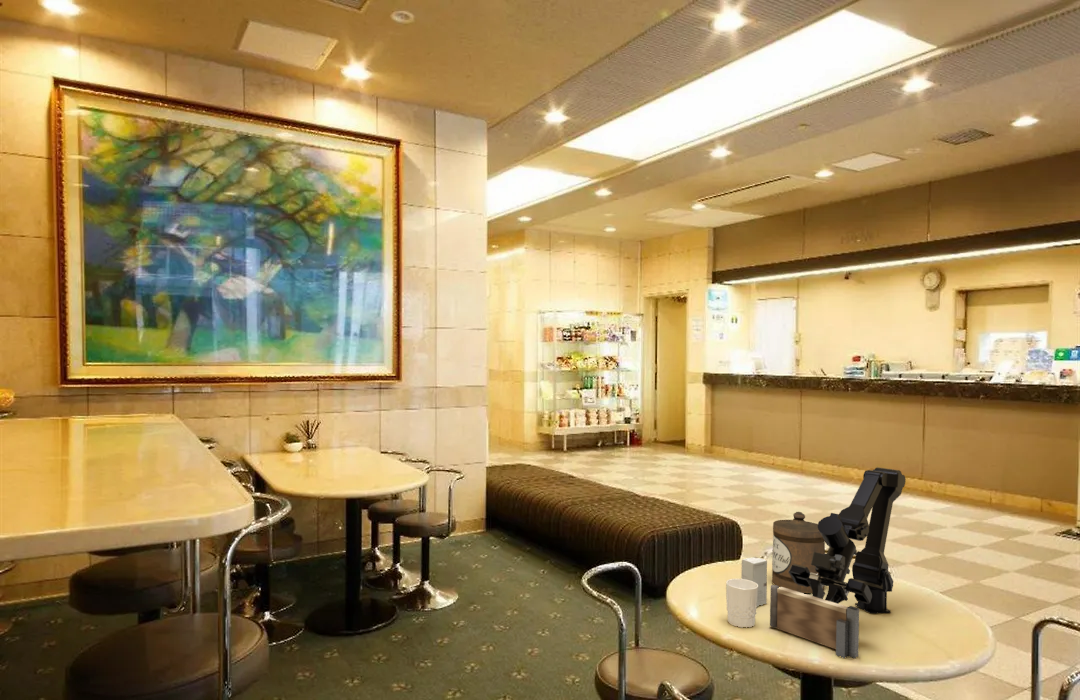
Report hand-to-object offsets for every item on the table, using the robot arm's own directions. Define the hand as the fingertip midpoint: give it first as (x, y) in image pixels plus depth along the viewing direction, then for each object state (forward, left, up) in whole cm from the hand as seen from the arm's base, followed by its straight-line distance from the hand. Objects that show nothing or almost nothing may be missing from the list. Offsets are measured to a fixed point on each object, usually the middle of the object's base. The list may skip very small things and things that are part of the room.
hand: (817, 613), depth 159 cm
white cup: (+13, -13, -7) cm, 20 cm away
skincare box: (+3, -25, -7) cm, 26 cm away
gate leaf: (+2, -1, -6) cm, 7 cm away
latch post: (-2, +8, -7) cm, 11 cm away
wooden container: (-18, -37, -7) cm, 42 cm away
